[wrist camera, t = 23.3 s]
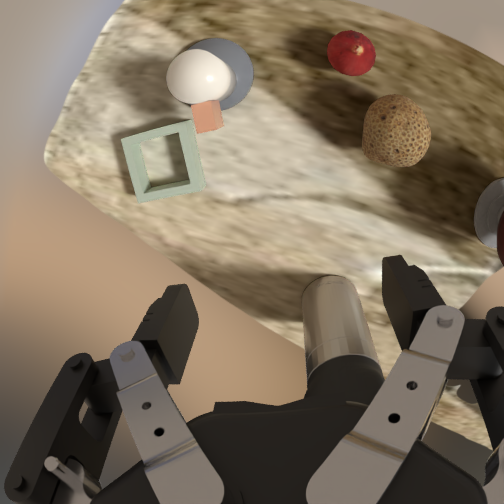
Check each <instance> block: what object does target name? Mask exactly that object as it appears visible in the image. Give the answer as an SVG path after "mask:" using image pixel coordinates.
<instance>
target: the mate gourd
mask: <svg viewBox="0 0 504 504" xmlns="http://www.w3.org/2000/svg"><path fill="white" fill-rule="evenodd" d="M474 227H475V232H476V234H477V236H478V238H479V239H480V241H481V242H483V243H484V244H485V245H486V246H488V247H491V248H497V252H498V255H499V258H500V260H501V262H502V264H503V266H504V178H501V179H497V180H495V181H493V182H492V183H491V184H489V185H488V186H487V187H486V188H485V190H484V191H483V192H482V194H481V196H480V197H479V200H478V202H477V205H476V208H475V213H474Z"/></svg>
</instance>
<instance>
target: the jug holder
mask: <svg viewBox="0 0 504 504" xmlns="http://www.w3.org/2000/svg"><path fill="white" fill-rule="evenodd" d="M178 132H179V137H180V141H181V145H182V150H183V154H184V158H185V163H186V167H187V171H188V175H189V179H190V180H185V181H180V182H175V183H170V184H166V185H161V186H156V187H152V188H151V185H150V182H149V178H148V174H147V170H146V167H145V163H144V159H143V155H142V151H141V147H140V142H143V141H147V140H151V139H154V138H158V137H162V136H166V135H170V134H174V133H178ZM121 142H122V146H123V150H124V154H125V158H126V162H127V165H128V169H129V173H130V176H131V180H132V184H133V187H134V191H135V194H136V198H137V201H138V203H143V202H148V201H152V200H157V199H162V198H167V197H172V196H177V195H183V194H188V193H193V192H199V191H202V190H203V188H204V187H205V186H206V182H205V177H204V173H203V169H202V164H201V160H200V155H199V151H198V147H197V142H196V138H195V133H194V128H193V124H192V119H191V120H187V121H183V122H179V123H175V124H171V125H167V126H164V127H160V128H156V129H152V130H149V131H145V132H142V133H138V134H135V135H132V136H129V137H126V138H123V139H121Z"/></svg>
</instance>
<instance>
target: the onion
mask: <svg viewBox="0 0 504 504" xmlns="http://www.w3.org/2000/svg"><path fill="white" fill-rule="evenodd" d="M327 55H328V59H329V62H330V63H331V65H332V66H333V68H334V69H336V70H337V71H339V72H340V73H342V74H346V75H349V76H359V75H362V74H364V73H366V72H368V71H369V70H370V69H371V67H372V66H373V65H374V62H375V57H376V54H375V48H374V46H373V44H372V43H371V41H370V40H369V39H368V38H367V37H366V36H364V35H363V34H362V33H359V32H355V31H352V30H350V31H342V32H340V33H338V34H337V35H335V36H334V37H332V39H331V40H330V42H329V43H328V48H327Z"/></svg>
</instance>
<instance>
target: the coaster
mask: <svg viewBox="0 0 504 504" xmlns="http://www.w3.org/2000/svg"><path fill="white" fill-rule="evenodd" d="M192 49H201V50H205V51H208V52H210V53H211V54H213V55H215V56H216V57H218V58H219V59H221V60H222V61H224V62H225V63H227V64H228V65H230V66H231V67H232V68H233V70H234V71H235V74H236V77H237V84H236V88H235V90H234V92H233V93H232V94H231V95H230V96H229V97H228V98H227V99H225V100H223V101H219V104H220V109H221V111H222V110H226V109H229V108H231V107H233V106H235V105H237V104H238V103H239V102H241V101H242V100H243V99H244V98H245V96H246V95H247V94H248V92H249V91H250V88H251V86H252V83H253V78H254V70H253V65H252V62H251V60H250V58H249V56H248V54H247V53H246V52H245V51H244V50H243V49H242V48H241V47H240V46H239V45H237V44H236V43H234V42H232V41H229V40H226V39H220V38H211V39H206V40H203V41H200V42H198V43H196V44H194V45H193V46H191V47H190V48H189V49H188V50H192ZM188 50H187V51H188ZM188 104H189V103H188ZM197 104H198V103H197ZM190 105H194V104H190Z"/></svg>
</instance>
